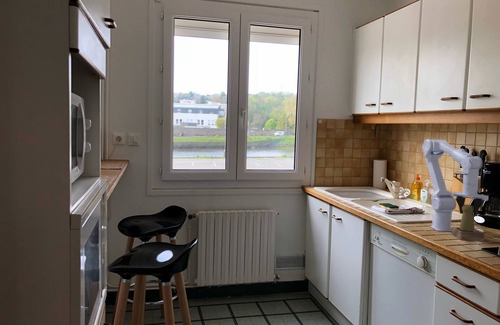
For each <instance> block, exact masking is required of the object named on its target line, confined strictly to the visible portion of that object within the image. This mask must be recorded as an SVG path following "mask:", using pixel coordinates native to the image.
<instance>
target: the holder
mask: <svg viewBox="0 0 500 325" xmlns="http://www.w3.org/2000/svg"><path fill="white" fill-rule="evenodd" d="M459 228H460V226H459V227H455V226H453V227H452V226H451V229H452V231H451V235H452V236H453V237H455V238H457V239H458V240H460V241H475V242H484V241H485V240H484V239H485V232H483V231H481V230H479V229H478V228H475V231H465V230H460V229H459Z"/></svg>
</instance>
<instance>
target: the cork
mask: <svg viewBox="0 0 500 325" xmlns="http://www.w3.org/2000/svg"><path fill="white" fill-rule="evenodd" d="M462 211H463V214H461V220H460V223H459V227H460V228H459V229H460V230H465V231H475V229H476V228H475V218H474V217H475V216H474V205H473V204H464V205H463V206H462Z"/></svg>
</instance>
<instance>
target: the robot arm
mask: <svg viewBox="0 0 500 325" xmlns="http://www.w3.org/2000/svg"><path fill="white" fill-rule="evenodd" d="M421 149H422V151H423V155H424V158H425V159H424V160H425V163H426V166H427V169H428V173H429V176H430V177H429V178H430V181H431V185H432V187H433V191H434V193H433V194H432V195H431V197H430V199H431V206H432V210H433V213H432V223H431V224H432V225H430V226H429V227H430V228H432V229H433V230H435V231H438V232H452V218H453V216H452V215H453V212H454V210H455V209H456V207H457V206H458V209H459V214H461V215H462V214H463V211H462V206H463V205H466V199H472V200H473V206H474V213H473V215H474V217H476V216H478V213H479V210H480V208H481V206H482V205H483V203H484V201H486V202H487V201H489V195H485V194H479V193H478V189H479V188H478V187H479V186H478V184H479V170H480V169H481V168H483V160H482V158H481V157H480V156H478V155H477V156H473V155H472V153H468V152H467V151H466V150H465V149H463V148H459V149H458V148H455V147H454V146H452V145H451V144H449V142H448V140H446V139H443V138H442V139H429V138H427V139H425V140H424V141H423V144H422V146H421ZM445 153H446V154H448V155H450V156H451V158H452V160H453V161H455V162H457V163H458V164H460V165H461V168H462V173H463V177H462V178H463V179H462V180H463V181H462V191H461V192H459V191H453V192H450V191H449V190H447V187H446V183H445V179H444V176H443V174H442V173H443V172H442V169H441V166H440V163H439V159H441V158H442V156H443V155H444V154H445Z"/></svg>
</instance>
